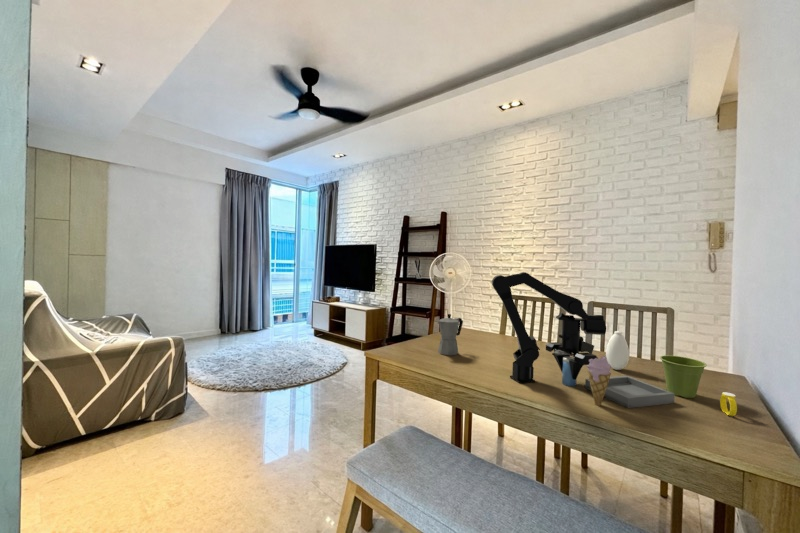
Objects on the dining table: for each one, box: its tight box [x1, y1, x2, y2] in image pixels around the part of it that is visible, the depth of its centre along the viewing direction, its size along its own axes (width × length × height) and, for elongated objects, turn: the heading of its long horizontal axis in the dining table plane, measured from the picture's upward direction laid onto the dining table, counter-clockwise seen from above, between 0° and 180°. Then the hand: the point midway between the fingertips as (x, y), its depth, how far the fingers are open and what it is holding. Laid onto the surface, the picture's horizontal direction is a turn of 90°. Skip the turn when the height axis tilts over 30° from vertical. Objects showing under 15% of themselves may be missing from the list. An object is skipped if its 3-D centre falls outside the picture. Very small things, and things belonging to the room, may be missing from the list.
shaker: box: [561, 356, 577, 387], centre depth 116 cm, size 4×4×9 cm
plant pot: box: [659, 354, 708, 399], centre depth 110 cm, size 12×12×11 cm
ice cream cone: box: [586, 355, 612, 407], centre depth 100 cm, size 7×6×15 cm
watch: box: [719, 391, 738, 417], centre depth 96 cm, size 6×3×6 cm, turn 157°
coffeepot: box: [437, 313, 464, 356], centre depth 153 cm, size 15×9×18 cm, turn 126°
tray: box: [584, 375, 676, 409], centre depth 108 cm, size 18×16×3 cm
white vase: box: [605, 325, 630, 371], centre depth 134 cm, size 8×8×18 cm
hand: (569, 377), depth 116 cm, fingers closed on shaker, 4 cm apart
